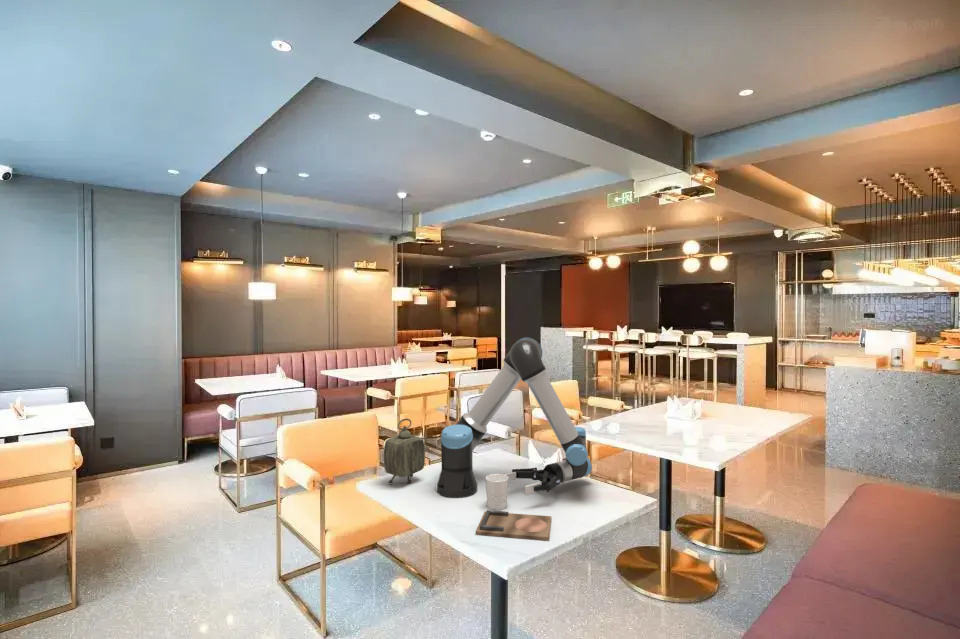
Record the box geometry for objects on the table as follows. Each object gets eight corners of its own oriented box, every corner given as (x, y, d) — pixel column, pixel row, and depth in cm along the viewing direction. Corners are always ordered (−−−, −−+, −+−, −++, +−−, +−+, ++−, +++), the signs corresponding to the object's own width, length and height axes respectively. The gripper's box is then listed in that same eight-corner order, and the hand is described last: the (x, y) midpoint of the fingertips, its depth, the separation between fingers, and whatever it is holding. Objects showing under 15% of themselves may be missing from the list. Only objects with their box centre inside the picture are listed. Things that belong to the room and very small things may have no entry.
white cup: (506, 511, 168) (506, 482, 168) (483, 509, 170) (483, 480, 169) (509, 502, 176) (509, 474, 175) (487, 501, 177) (487, 473, 177)
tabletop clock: (411, 474, 205) (411, 414, 204) (427, 479, 199) (426, 417, 199) (383, 484, 194) (383, 420, 193) (399, 490, 188) (398, 424, 188)
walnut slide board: (475, 534, 151) (475, 528, 151) (484, 514, 166) (484, 508, 166) (549, 540, 147) (549, 534, 147) (551, 519, 162) (551, 513, 162)
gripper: (581, 493, 178) (536, 506, 165) (535, 473, 198) (492, 484, 186) (581, 472, 177) (536, 484, 165) (535, 455, 198) (492, 464, 186)
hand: (512, 484), depth 176 cm, fingers open, 13 cm apart
